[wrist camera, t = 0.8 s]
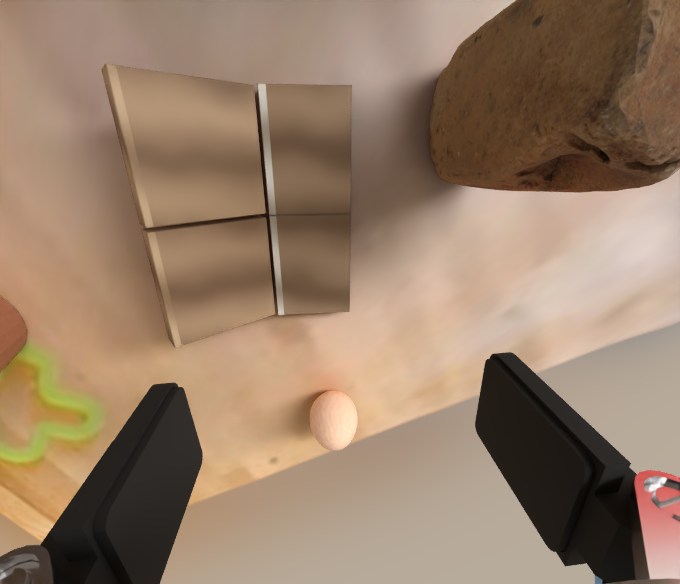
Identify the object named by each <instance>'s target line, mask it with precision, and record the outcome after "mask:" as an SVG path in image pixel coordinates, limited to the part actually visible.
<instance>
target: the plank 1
mask: <svg viewBox="0 0 680 584" xmlns="http://www.w3.org/2000/svg"><path fill="white" fill-rule="evenodd" d="M102 74H103V78H104V82H105V86H106V90H107V94H108V97H109V101H110V105H111V109H112V113H113V117H114V121H115V125H116V129H117V133H118V137H119V141H120V145H121V149H122V153H123V157H124V161H125V165H126V169H127V173H128V177H129V181H130V185H131V189H132V193H133V197H134V201H135V205H136V209H137V213H138V217H139V221H140V224H141V225H142V226H144V227H145V228H148V227H155V226H163V225H172V224H180V223H188V222H197V221H205V220H214V219H222V218H231V217H239V216H247V215H256V214H264V213H266V210H265V200H264V189H263V179H262V168H261V157H260V147H259V136H258V125H257V115H256V104H255V93H254V85H248V84H241V83H234V82H227V81H220V80H213V79H206V78H200V77H193V76H186V75H179V74H172V73H165V72H158V71H151V70H144V69H137V68H130V67H123V66H116V65H111V64H105V65H104V67H103V68H102Z"/></svg>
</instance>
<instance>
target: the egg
mask: <svg viewBox="0 0 680 584" xmlns="http://www.w3.org/2000/svg"><path fill="white" fill-rule="evenodd" d="M310 426H311V430H312V433H313V435H314V436H315V438H316V440H317V441H318V442H319V443H320V444H321V445H322V446H323V447H324V448H326V449H328V450H332V451H337V450H340V449H343V448H344V447H346V446H347V445H348V444H349V443H350V442H351V440H352V439H353V437H354V434H355V432H356V429H357V412H356V408H355V406H354V403H353V402H352V400H351V399H350V398H349V397H348V396H347V395H345V394H344V393H342V392H339V391H327V392H325V393H323V394H321V395H320V396H319V397H318V398H317V399H316V400H315V401H314V403H313V405H312V408H311V411H310Z"/></svg>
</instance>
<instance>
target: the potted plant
mask: <svg viewBox="0 0 680 584" xmlns="http://www.w3.org/2000/svg"><path fill="white" fill-rule="evenodd" d="M26 336H27V330H26V327H25V324H24V321H23V319H22V318H21V316H20V315H19V314H18V312H17V311H16V310H15V308H14V307H12V306H11V305H10V304H9V303H8V302H6V301H5V300H4V299H3V298H1V297H0V372H1V371H2V370H3V369H4V367H5V366H6V365H7V364H8V363H9V362H10V361H11V360H12V359H13V358H14V357H15V356H16V355H17V354H18V353H19V352H20V351H21V349H22V348H23V346H24V344H25V343H26Z"/></svg>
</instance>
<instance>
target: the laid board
mask: <svg viewBox="0 0 680 584" xmlns="http://www.w3.org/2000/svg"><path fill="white" fill-rule="evenodd" d="M257 85H258V96H259V108H260V119H261V130H262V141H263V152H264V163H265V174H266V185H267V196H268V208H269V219H270V230H271V241H272V252H273V263H274V274H275V285H276V296H277V308H278V315H286V314H309V313H331V312H349V310H350V215H351V213H350V208H351V105H352V85H295V84H257Z"/></svg>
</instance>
